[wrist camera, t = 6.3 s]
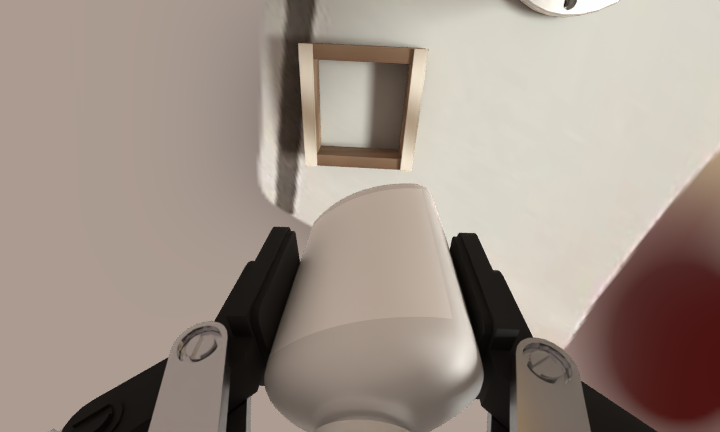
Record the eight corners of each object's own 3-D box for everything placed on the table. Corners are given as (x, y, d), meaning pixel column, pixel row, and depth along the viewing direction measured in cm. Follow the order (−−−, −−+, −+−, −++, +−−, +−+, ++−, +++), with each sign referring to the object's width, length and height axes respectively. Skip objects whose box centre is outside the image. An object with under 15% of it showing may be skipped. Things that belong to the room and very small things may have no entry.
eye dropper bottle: (314, 169, 12) (17, 803, 2) (447, 184, 12) (739, 885, 2) (313, 249, 15) (167, 731, 5) (424, 261, 15) (518, 770, 5)
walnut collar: (305, 42, 24) (298, 43, 21) (423, 48, 24) (428, 49, 21) (311, 155, 29) (305, 166, 26) (408, 160, 29) (411, 171, 26)
